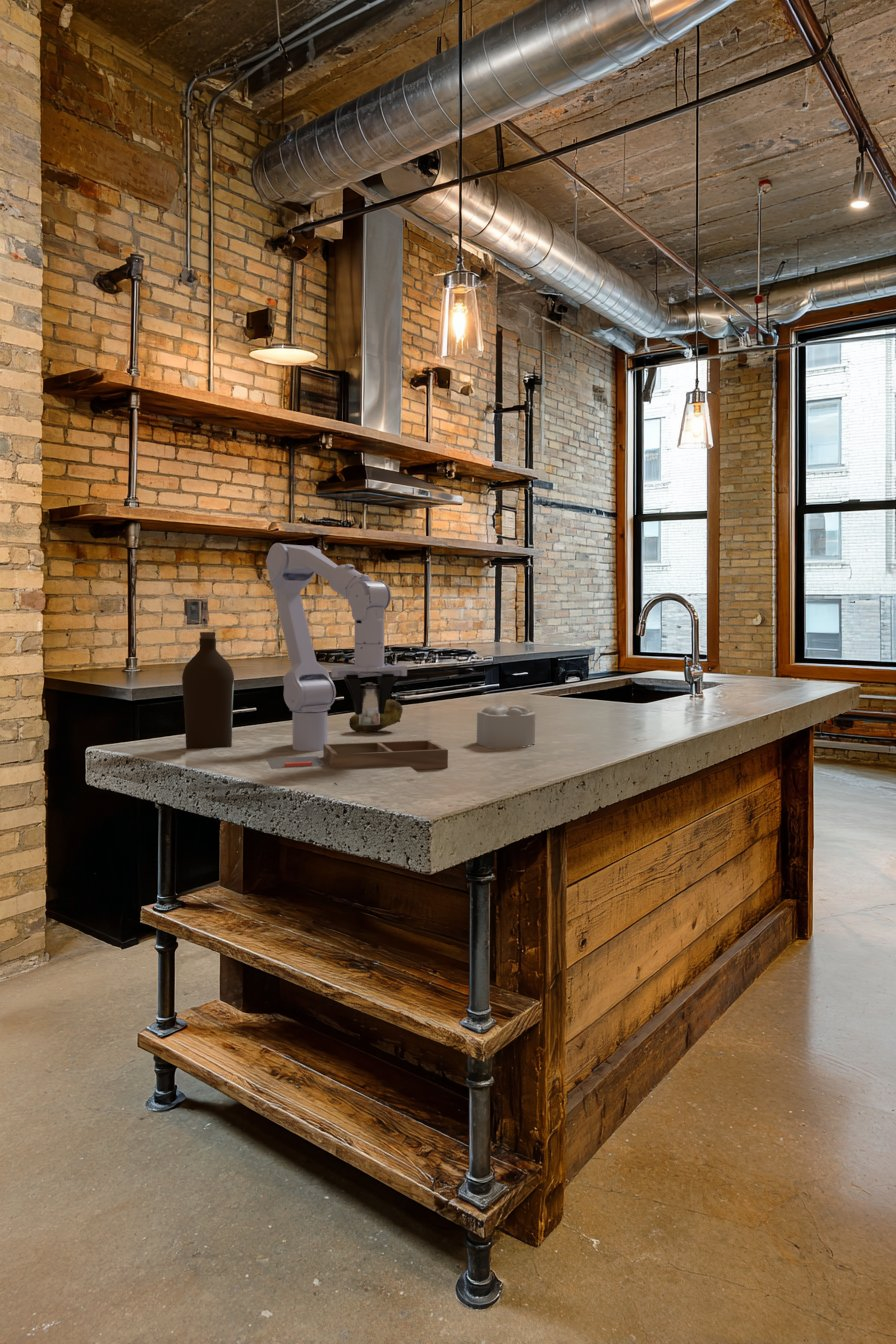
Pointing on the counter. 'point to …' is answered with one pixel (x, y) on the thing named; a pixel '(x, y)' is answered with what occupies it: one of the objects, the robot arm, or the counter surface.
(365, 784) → the counter surface
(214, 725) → the olive oil
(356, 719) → the potato
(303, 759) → the grey square base plate
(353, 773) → the counter surface
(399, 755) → the sorting tray
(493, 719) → the lumpy-topped squat cylinder
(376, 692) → the cell
